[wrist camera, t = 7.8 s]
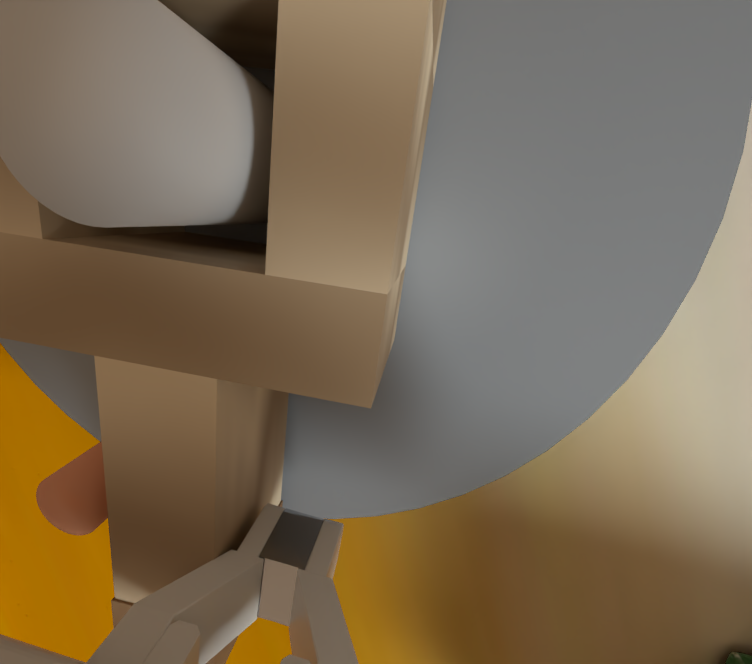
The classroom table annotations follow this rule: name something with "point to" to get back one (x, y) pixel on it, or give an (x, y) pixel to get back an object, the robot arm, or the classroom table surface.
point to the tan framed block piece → (239, 283)
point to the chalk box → (739, 658)
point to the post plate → (430, 220)
